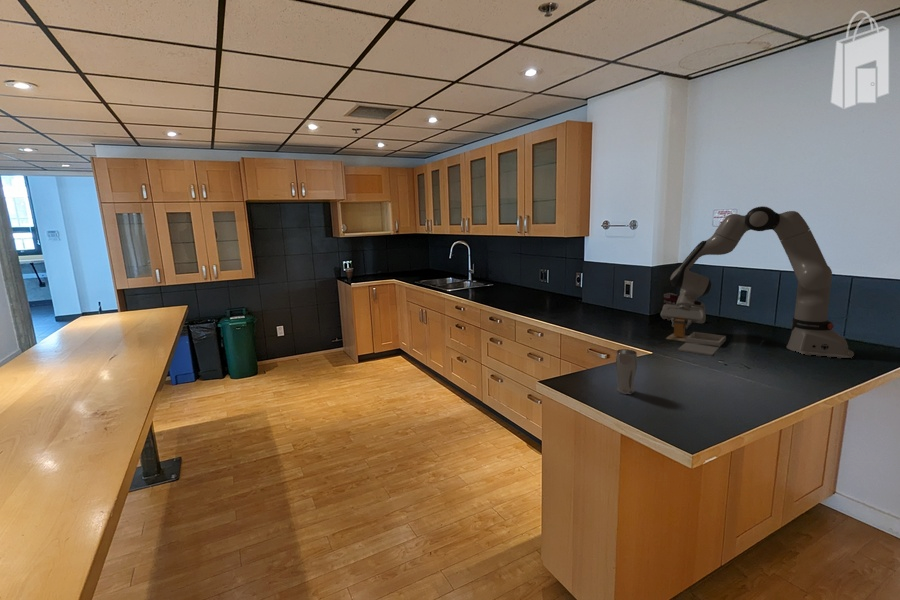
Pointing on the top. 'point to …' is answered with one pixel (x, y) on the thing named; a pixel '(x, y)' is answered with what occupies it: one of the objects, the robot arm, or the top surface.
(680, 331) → the block
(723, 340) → the case
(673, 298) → the supplement box
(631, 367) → the beer glass
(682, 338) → the pad
